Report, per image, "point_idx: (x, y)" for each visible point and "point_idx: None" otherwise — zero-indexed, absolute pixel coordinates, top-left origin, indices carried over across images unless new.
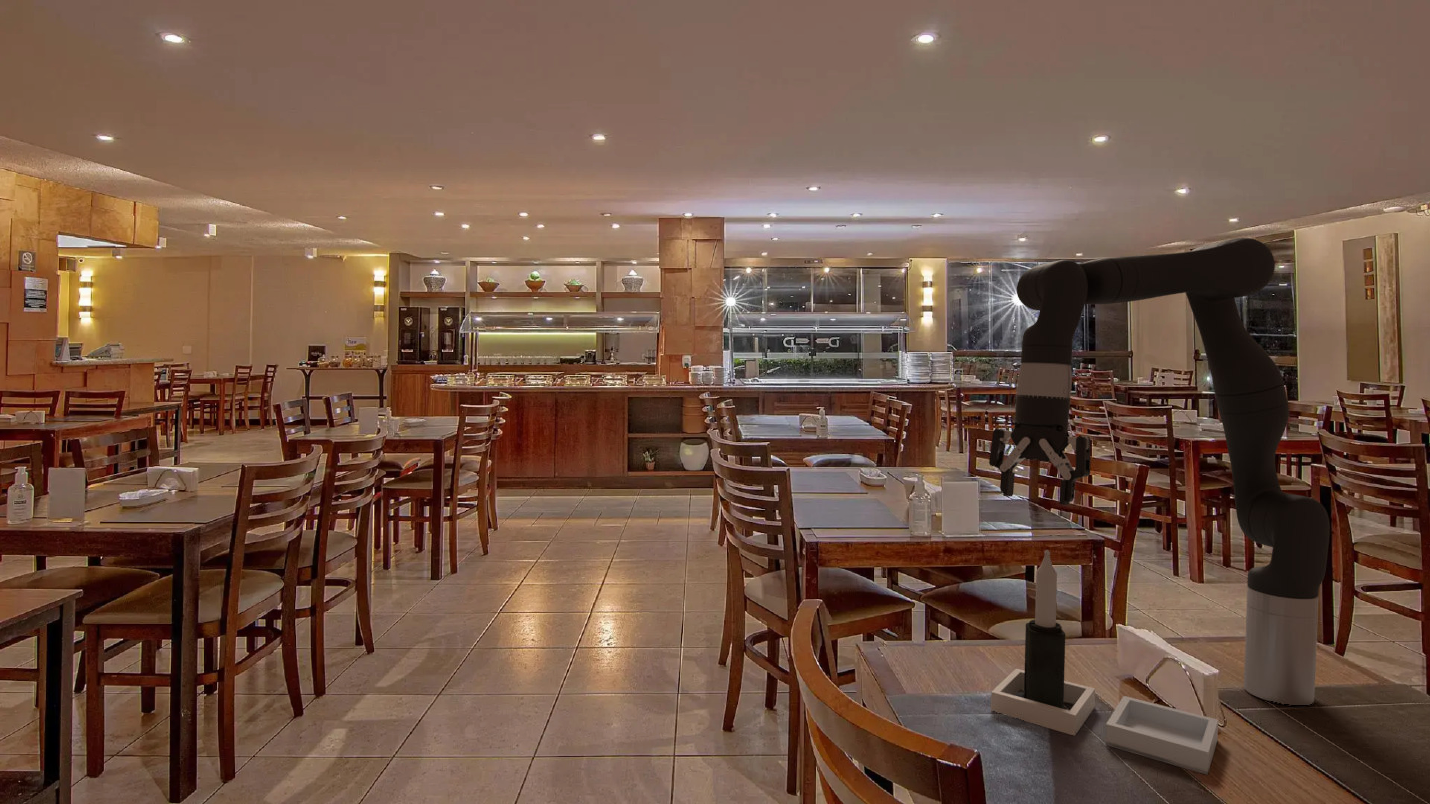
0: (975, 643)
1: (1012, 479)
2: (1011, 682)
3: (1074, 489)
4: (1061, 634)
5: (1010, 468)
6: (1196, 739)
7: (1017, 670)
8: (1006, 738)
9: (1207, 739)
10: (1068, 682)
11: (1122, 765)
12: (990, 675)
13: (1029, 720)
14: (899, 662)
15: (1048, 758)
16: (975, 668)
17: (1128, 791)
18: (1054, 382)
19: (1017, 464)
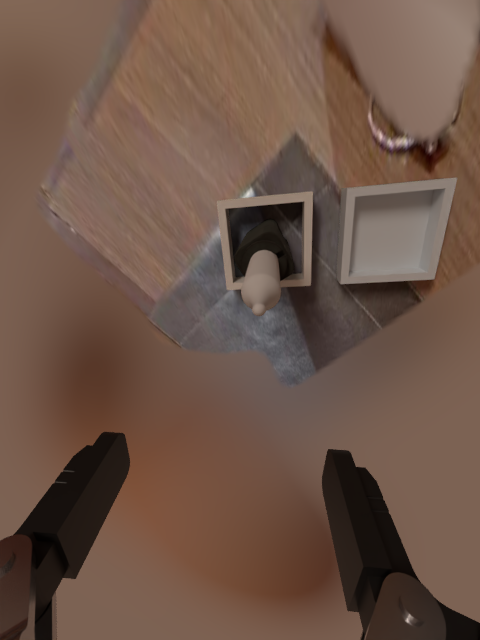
0: (103, 69)
1: (86, 508)
2: (229, 244)
3: (393, 527)
4: (290, 273)
5: (45, 593)
6: (420, 205)
7: (220, 206)
8: (262, 323)
9: (437, 248)
10: (281, 197)
11: (353, 304)
12: (184, 189)
13: None
14: (98, 235)
15: (300, 332)
16: (161, 180)
17: (362, 340)
18: None
19: (30, 606)
